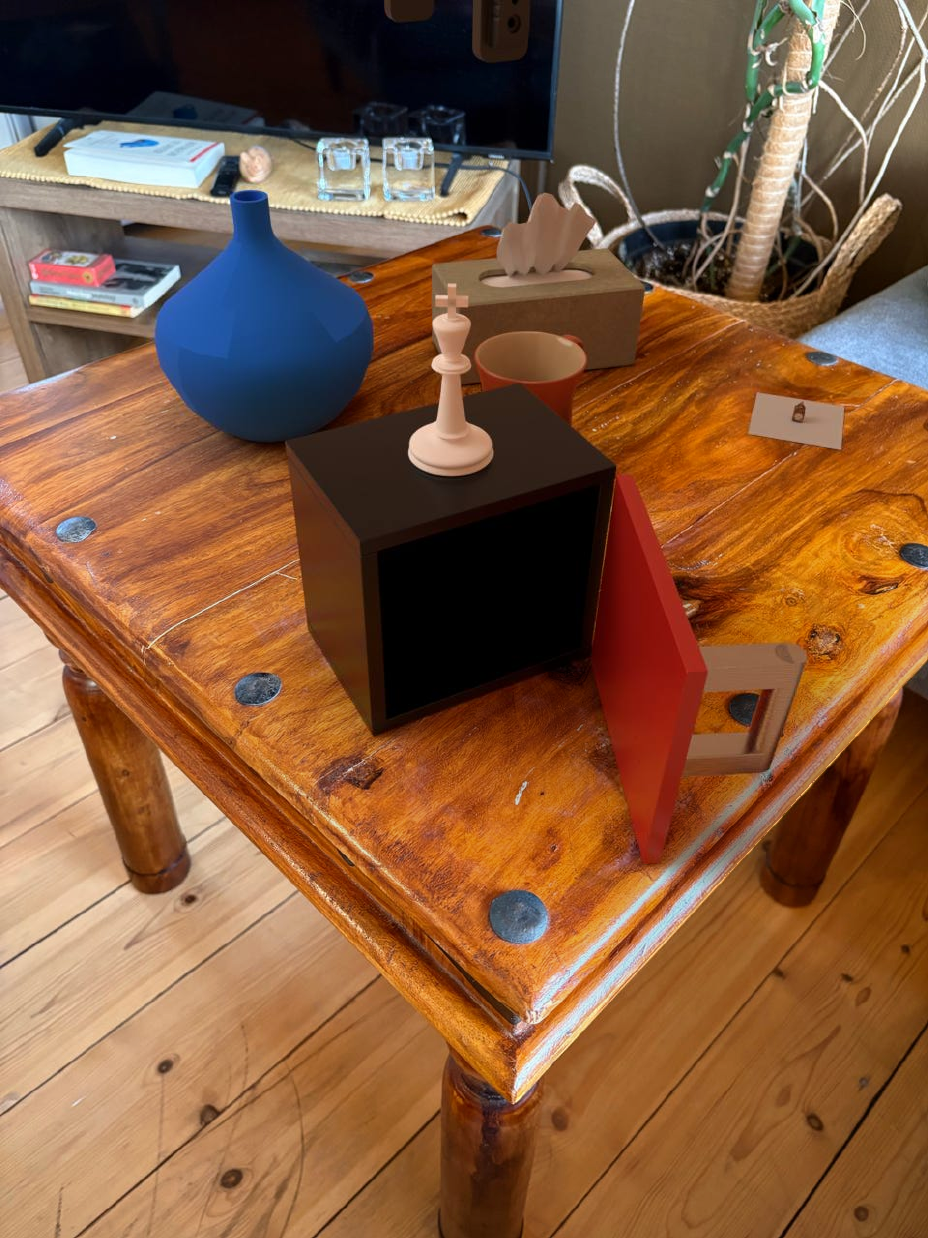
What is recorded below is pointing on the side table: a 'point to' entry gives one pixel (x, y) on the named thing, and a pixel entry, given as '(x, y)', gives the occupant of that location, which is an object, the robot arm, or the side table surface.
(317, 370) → the vase
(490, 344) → the mug
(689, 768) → the door
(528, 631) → the dark brown cabinet
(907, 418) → the side table surface
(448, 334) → the chess piece
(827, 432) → the grey square plate
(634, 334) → the tissue box
